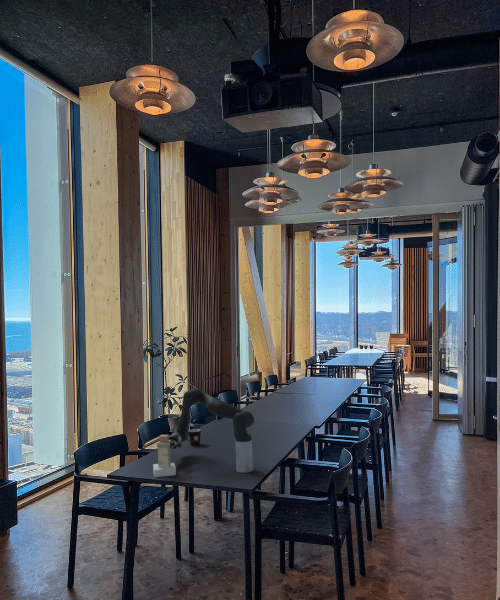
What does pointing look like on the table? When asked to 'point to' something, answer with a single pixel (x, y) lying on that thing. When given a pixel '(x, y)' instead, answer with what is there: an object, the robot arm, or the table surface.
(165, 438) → the block
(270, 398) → the table surface
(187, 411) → the robot arm
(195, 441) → the coffee mug
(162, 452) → the beige rectangular pillar
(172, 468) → the block
